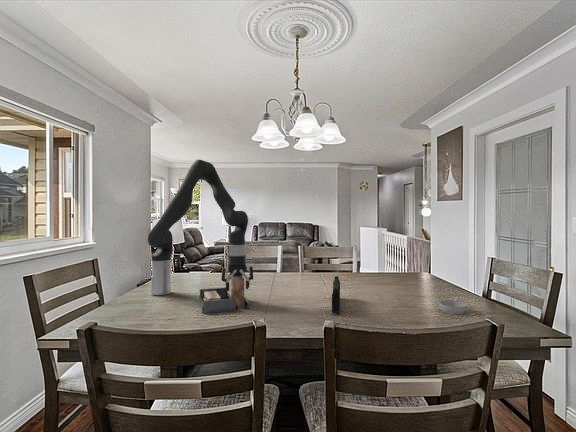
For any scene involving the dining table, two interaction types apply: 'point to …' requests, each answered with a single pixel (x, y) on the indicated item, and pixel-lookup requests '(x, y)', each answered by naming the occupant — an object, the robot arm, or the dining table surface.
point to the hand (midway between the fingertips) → (237, 289)
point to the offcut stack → (211, 296)
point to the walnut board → (238, 290)
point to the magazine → (336, 296)
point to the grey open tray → (219, 302)
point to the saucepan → (453, 306)
